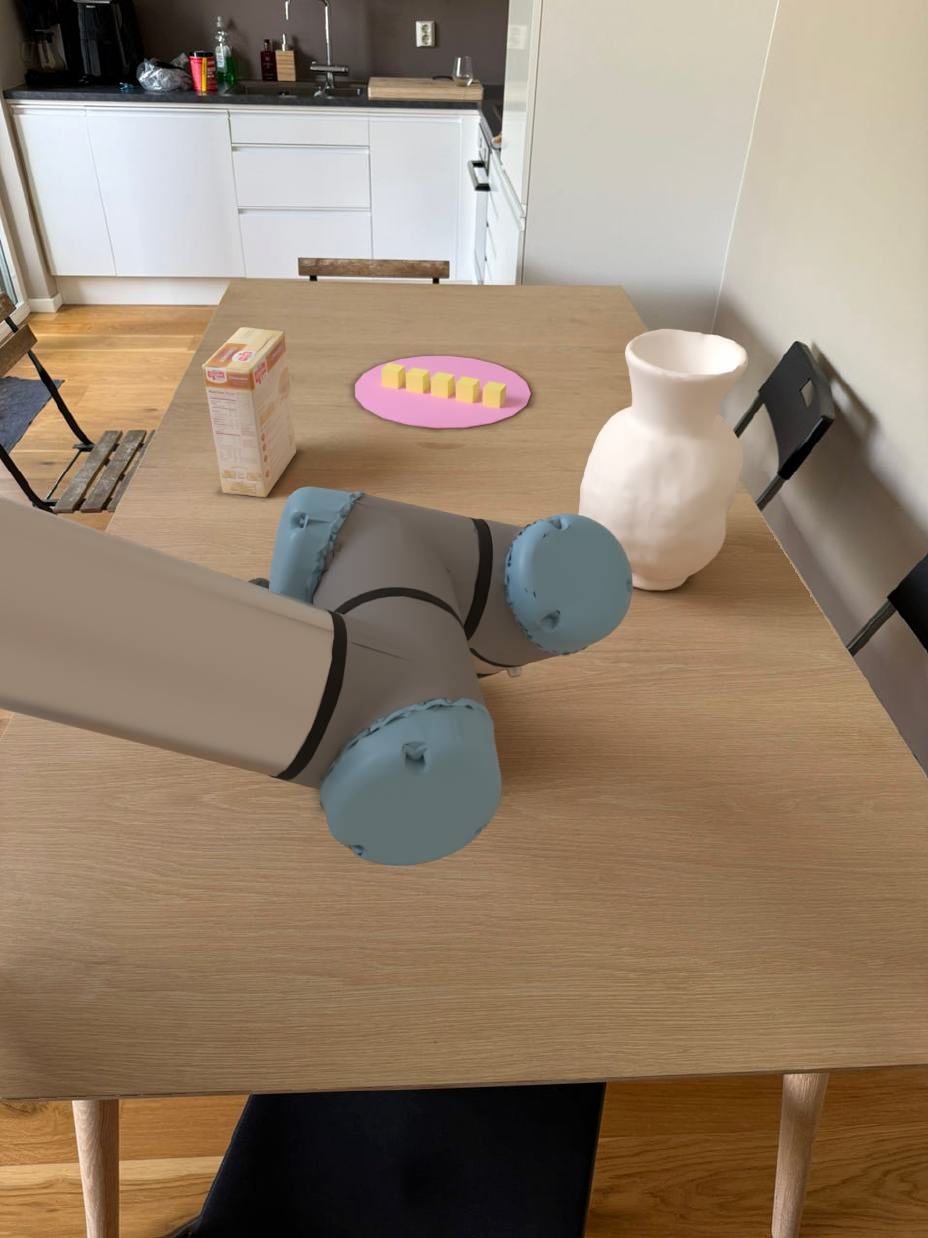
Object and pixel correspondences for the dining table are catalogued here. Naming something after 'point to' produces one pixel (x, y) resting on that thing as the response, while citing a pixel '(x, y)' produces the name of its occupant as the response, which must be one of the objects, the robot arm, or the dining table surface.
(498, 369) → the platter
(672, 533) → the vase
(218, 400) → the coffeecake box
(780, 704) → the dining table surface
